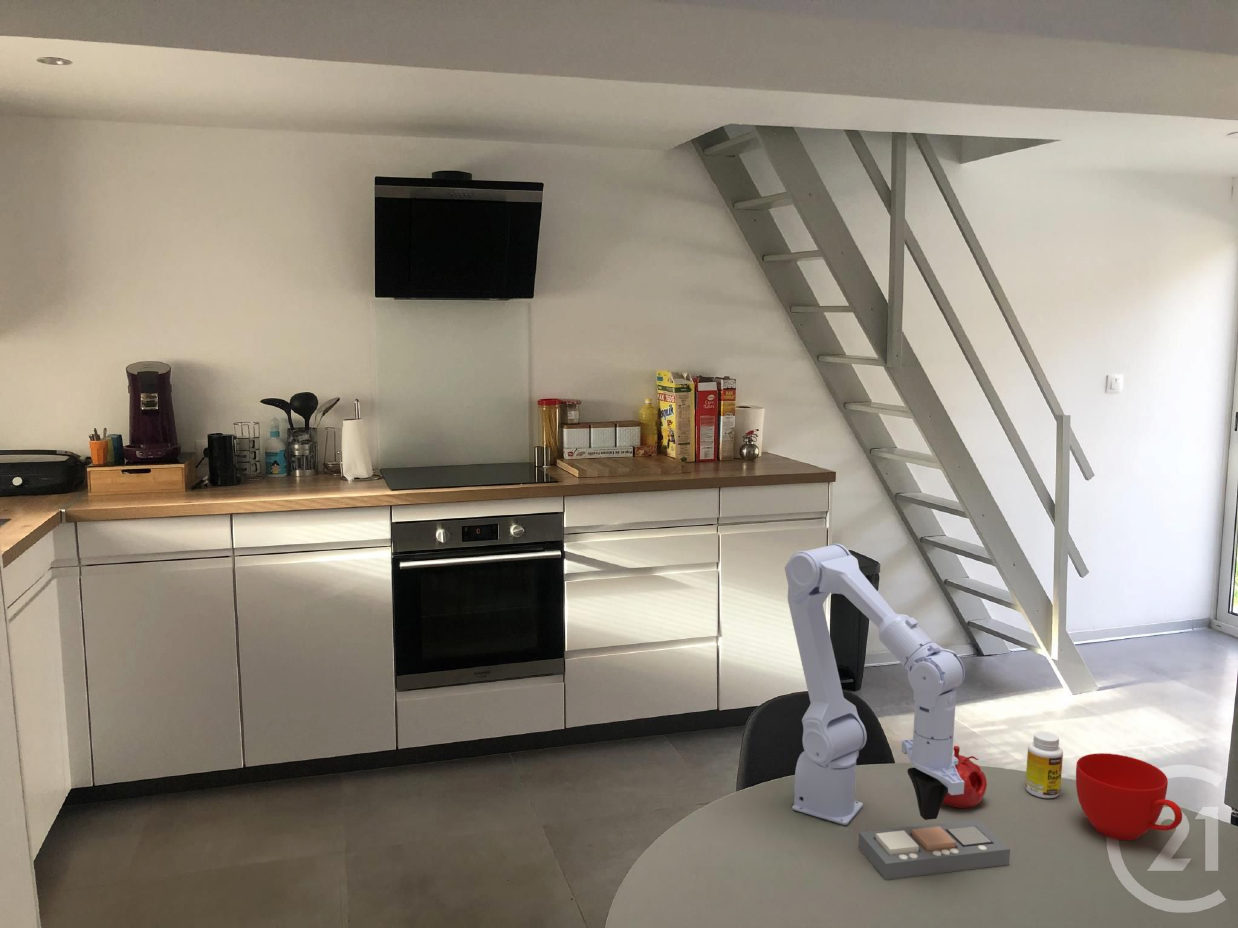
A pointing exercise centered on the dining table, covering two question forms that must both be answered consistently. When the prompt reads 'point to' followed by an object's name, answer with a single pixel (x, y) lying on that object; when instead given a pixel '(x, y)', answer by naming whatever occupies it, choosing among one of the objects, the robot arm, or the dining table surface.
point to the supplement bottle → (1044, 765)
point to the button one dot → (969, 836)
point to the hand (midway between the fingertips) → (928, 816)
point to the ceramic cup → (1122, 795)
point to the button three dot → (933, 838)
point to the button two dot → (896, 843)
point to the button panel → (934, 853)
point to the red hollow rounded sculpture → (967, 783)
